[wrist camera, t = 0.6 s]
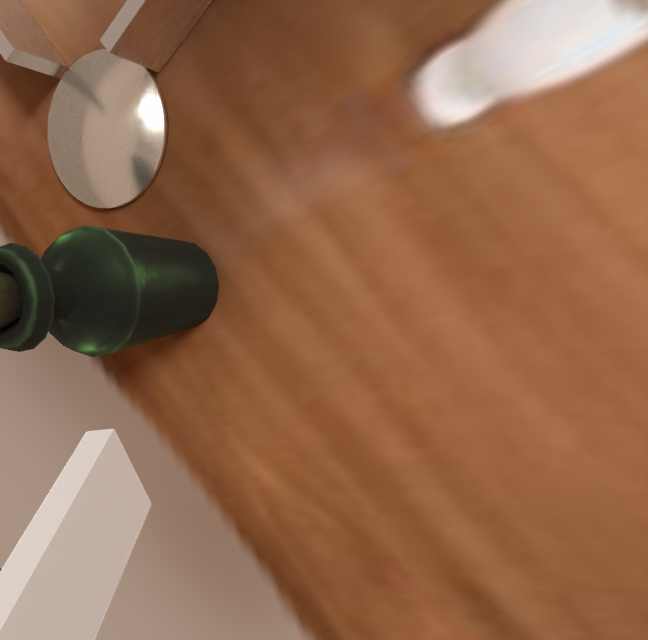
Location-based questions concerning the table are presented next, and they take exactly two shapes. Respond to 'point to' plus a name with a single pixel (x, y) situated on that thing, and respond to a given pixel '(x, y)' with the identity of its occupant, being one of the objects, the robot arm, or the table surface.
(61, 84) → the shiny disc with plates
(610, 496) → the table surface
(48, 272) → the potion bottle
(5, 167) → the table surface
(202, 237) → the table surface
